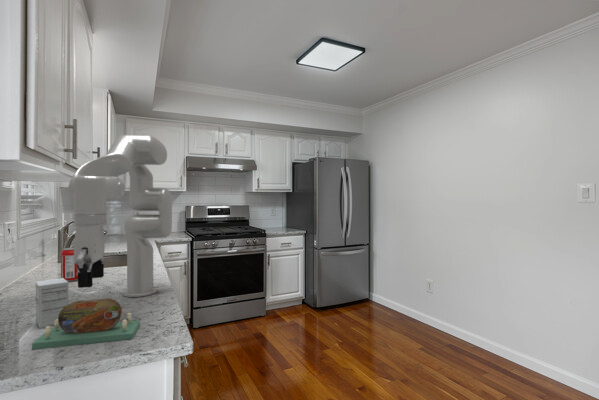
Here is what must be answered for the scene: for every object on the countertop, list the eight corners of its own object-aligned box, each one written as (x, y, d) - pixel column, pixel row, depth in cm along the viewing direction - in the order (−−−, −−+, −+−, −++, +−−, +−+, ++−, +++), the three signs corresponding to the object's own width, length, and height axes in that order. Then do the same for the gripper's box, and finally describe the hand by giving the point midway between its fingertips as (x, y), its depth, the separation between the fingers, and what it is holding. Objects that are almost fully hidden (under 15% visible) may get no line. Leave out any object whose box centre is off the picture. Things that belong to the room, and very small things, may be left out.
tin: (57, 335, 87) (57, 303, 87) (62, 330, 90) (62, 300, 90) (120, 329, 91) (120, 299, 91) (123, 325, 94) (123, 296, 94)
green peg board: (50, 333, 92) (50, 317, 92) (139, 325, 98) (139, 309, 98) (32, 349, 82) (32, 330, 82) (132, 338, 89) (132, 321, 89)
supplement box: (35, 322, 101) (35, 281, 101) (64, 316, 106) (64, 277, 106) (38, 329, 96) (38, 285, 96) (69, 322, 101) (68, 281, 101)
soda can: (65, 283, 147) (65, 250, 147) (57, 281, 151) (57, 248, 151) (84, 279, 154) (84, 247, 154) (76, 277, 158) (76, 246, 158)
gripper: (86, 218, 98) (87, 275, 98) (61, 224, 81) (62, 292, 82) (114, 217, 100) (115, 273, 100) (95, 223, 83) (96, 290, 84)
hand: (91, 282), depth 91 cm, fingers open, 9 cm apart
